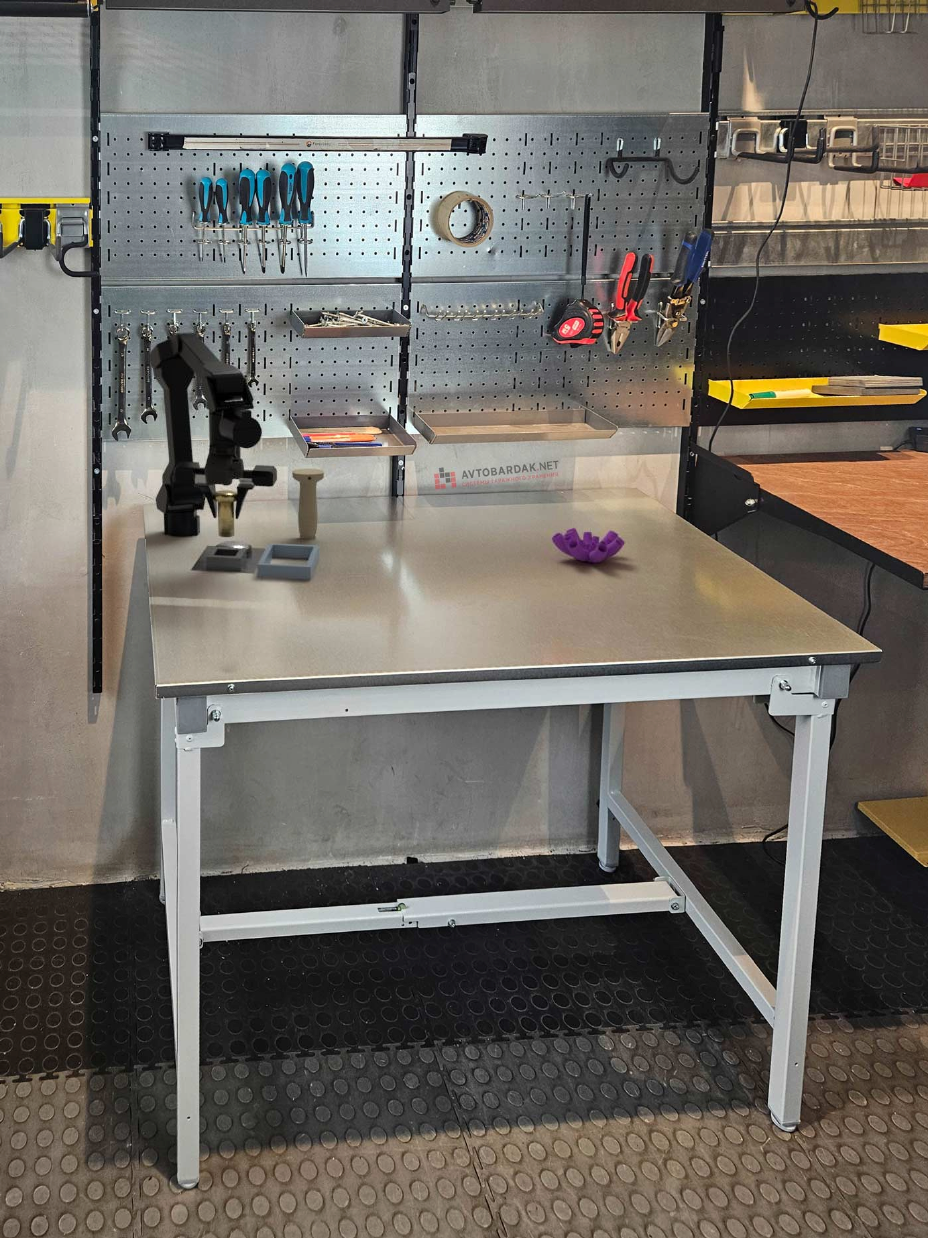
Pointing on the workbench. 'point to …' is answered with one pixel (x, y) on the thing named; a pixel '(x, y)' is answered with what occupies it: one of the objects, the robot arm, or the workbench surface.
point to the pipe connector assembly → (588, 545)
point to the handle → (308, 500)
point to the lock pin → (225, 512)
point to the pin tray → (287, 569)
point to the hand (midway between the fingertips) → (226, 518)
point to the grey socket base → (229, 558)
